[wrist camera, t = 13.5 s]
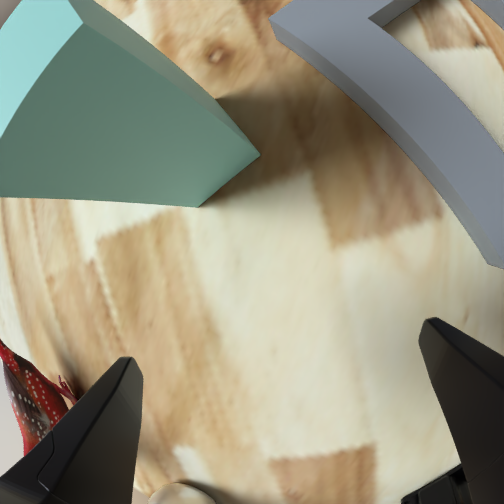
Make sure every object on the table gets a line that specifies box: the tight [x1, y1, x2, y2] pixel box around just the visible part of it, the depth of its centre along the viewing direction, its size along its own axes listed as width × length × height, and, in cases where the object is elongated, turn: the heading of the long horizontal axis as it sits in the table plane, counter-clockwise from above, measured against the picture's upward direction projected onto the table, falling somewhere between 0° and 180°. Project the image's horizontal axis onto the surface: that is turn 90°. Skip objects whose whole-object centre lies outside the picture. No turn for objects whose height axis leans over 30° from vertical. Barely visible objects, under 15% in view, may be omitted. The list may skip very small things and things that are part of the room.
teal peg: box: [0, 0, 261, 208], centre depth 11 cm, size 5×5×14 cm
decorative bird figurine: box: [0, 339, 78, 456], centre depth 19 cm, size 3×18×10 cm, turn 34°
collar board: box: [268, 0, 504, 269], centre depth 11 cm, size 19×19×2 cm
